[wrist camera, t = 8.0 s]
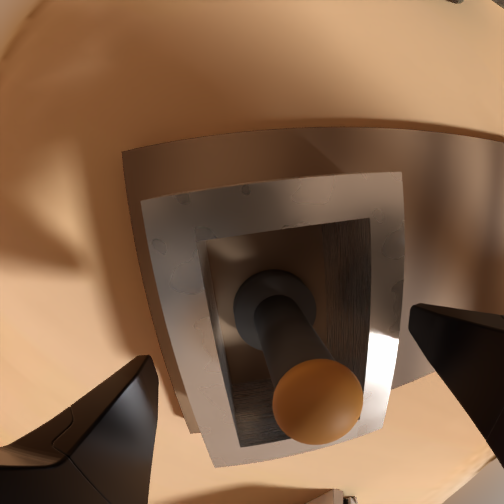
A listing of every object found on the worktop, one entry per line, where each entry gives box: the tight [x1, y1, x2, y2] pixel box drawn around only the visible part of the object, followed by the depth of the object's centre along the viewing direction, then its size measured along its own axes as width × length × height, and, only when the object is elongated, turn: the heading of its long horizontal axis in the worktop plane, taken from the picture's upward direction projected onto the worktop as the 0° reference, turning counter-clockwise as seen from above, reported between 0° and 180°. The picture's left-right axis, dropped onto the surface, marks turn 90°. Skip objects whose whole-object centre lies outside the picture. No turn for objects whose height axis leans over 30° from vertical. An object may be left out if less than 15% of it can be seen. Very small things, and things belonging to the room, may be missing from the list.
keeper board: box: [122, 127, 504, 445], centre depth 10 cm, size 26×14×8 cm, turn 97°
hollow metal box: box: [141, 172, 405, 468], centre depth 10 cm, size 7×10×4 cm
